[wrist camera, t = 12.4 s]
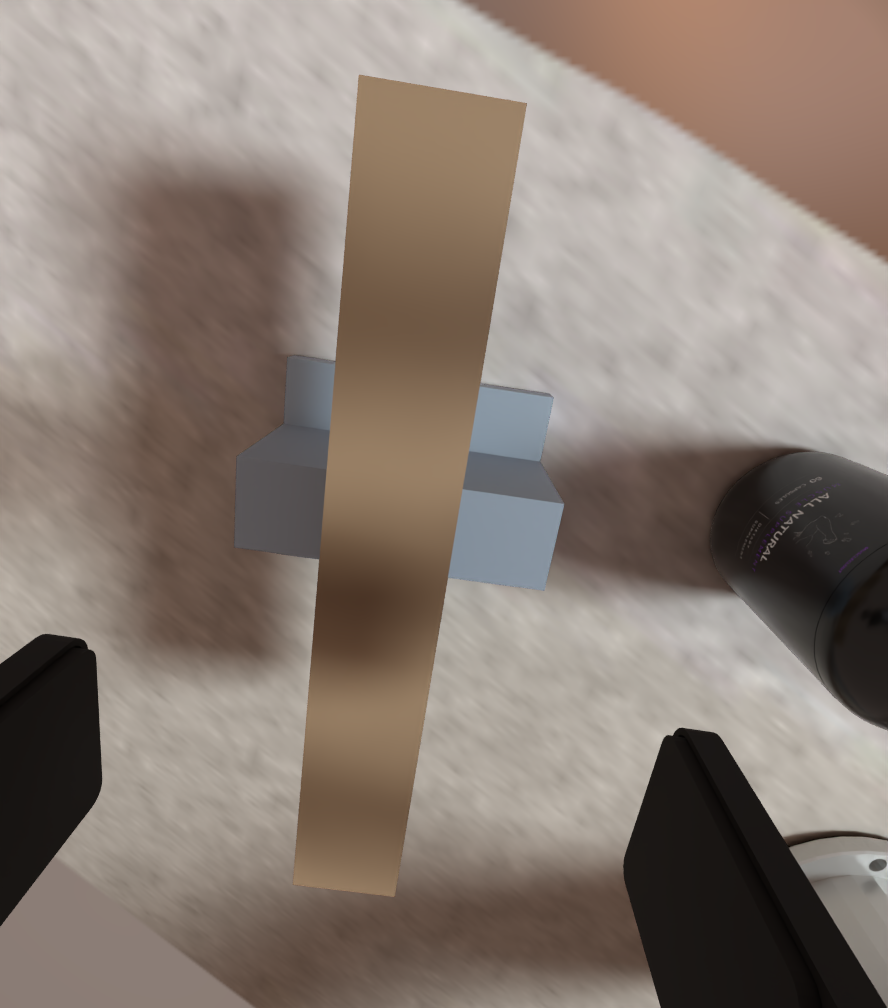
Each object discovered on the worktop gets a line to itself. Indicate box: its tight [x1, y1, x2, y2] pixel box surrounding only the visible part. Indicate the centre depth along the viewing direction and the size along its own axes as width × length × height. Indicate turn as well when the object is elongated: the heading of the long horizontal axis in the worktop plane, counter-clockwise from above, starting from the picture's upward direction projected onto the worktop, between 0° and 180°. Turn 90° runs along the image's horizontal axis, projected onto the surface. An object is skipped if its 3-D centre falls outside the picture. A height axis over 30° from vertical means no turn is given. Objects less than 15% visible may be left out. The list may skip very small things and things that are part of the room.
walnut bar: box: [293, 75, 527, 897], centre depth 15 cm, size 20×3×4 cm, turn 172°
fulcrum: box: [234, 355, 564, 591], centre depth 20 cm, size 8×10×6 cm
